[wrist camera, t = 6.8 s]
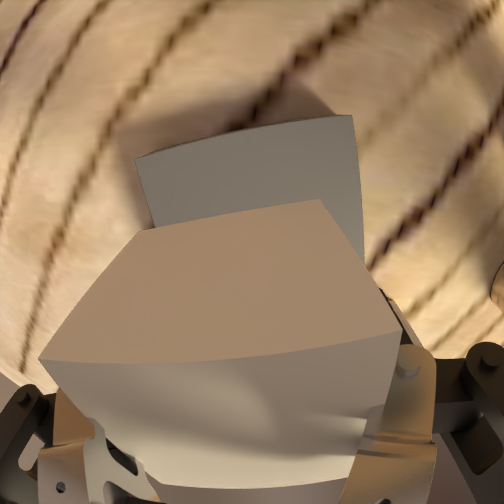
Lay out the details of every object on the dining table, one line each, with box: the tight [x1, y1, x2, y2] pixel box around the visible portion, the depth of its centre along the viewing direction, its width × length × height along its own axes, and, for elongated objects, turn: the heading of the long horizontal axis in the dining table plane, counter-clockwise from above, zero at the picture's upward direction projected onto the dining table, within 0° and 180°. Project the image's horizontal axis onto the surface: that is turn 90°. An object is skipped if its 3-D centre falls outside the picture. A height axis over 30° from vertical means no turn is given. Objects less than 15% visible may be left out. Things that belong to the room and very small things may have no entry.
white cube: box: [38, 199, 403, 489], centre depth 8 cm, size 6×6×6 cm
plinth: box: [135, 115, 364, 264], centre depth 24 cm, size 16×16×4 cm
